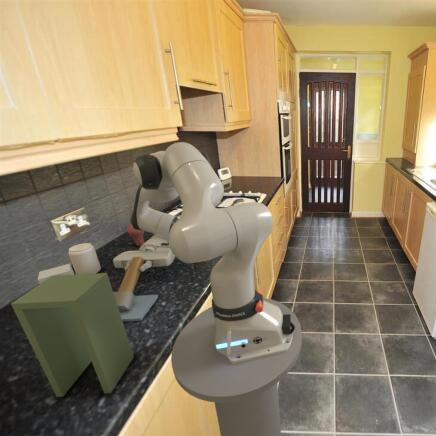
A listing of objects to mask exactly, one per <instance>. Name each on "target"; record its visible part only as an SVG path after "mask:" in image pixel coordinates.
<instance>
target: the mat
mask: <svg viewBox="0 0 436 436" xmlns="http://www.w3.org/2000/svg"><path fill="white" fill-rule="evenodd" d="M135 296H136V297H135V300H134V302H133V305H132V308H131V310H130V311H119V312H120V315H121V318H122V321H123V323H127V322H141V321H143V319H144V318H145V316H146V315H147V314H148V312H149V311H150V309H151V308H152V307H153V305H154V304H155V302H156V301H157V299H158V298H159V294H145V295H135Z"/></svg>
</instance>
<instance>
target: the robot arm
mask: <svg viewBox="0 0 436 436" xmlns="http://www.w3.org/2000/svg"><path fill="white" fill-rule="evenodd" d="M132 173H133V176H134V179H135V180H136V182H137V183H138V185H139V186H138V187H137V190H136V193H135V198H134V204H133V209H132V213H131V216H130V219H129V222H130V224H131V225H132V226H133V228H134V229H136V230H141V231H144V232H146V233H150V234H152V236H151V237H150V238H149V239H148V240H146V241H144V244H143V245H140V247H139V249H138V250H127V251H124V252H122V253H121V252H120V254H118V255H116V256H115V257H114V258H113V259H112V262H113V263H112V264H113V266H114V268H115V269H124V271H125V273H126V272H127V270H128V267H129V265H130V262H131V260H132V258H133V257H142V258H143V259H144V261H145V262H144V264H143V265H140V266H139V267H138V271H141V272H145V270H147V269H149V268H151V267H152V268H155V267H169V266H171V265H172V263H174V260H175V259H176V258H177V259H178V260H179V261H180V262H181V263H182V262H183V263H184V264H193V263H194V264H195V263H200V262H206V261H210V260H213V259H215V258H219V257H221V256H222V257H221V258H220V259H219V260H218V261H217V262H216V263H215V264H214V266H213V267H212V269H211V270H210V274H209V282H210V290H211V296H212V298H211V307H212V310H213V314H214V318H215V321H216V328H215V337H214V346H215V348H216V350H217V351H218V352H219V353H221V354H222V355H224V356H226V358H227V359H228V361H229V362H230V363H231V364H237V363H241V362H246V361H250V360H254V359H259V358H263V357H268V356H272V355H277V354H281V353H285V352H287V351H288V349H289V348H290V346H291V343H292V339H293V331H294V329H295V326H294V324H293V323H292V322H291V314H282V311H281V309H280V308H279V307H278V306H276V305H274V304H271V303H269V302H267V301H265V300H263V298H264V296H263V289H262V288H261V289H260V292H259V291H258V290H256V289H255V288H256V287H255V266H256V265H255V264H256V261H257V257H258V255H259V252H260V250H261V248H262V246H263V245H264V242H266V240H267V238H268V237H269V236H270V235H271V234H272V232H273V229H274V217H273V214H272V212H271V210H270V209H269V207H268V206H266V205H265V204H264V203H262V202H241V203H238V204H233V205H228V206H225V207H219V208H217V206H218V205H219V203H220V202H221V201H222V200H223V197H224V195H225V187H224V183H223V182H222V181H221V178H220V177H219V176H218V175H217V173H216V172H215V169H213V167H212V162H211V160H210V157H209V156H208V154H207V153H206V152H205V151H204V150H201V149H197V148H196V147H195V146H194V145H192V144H190V143H189V142H185V141H184V142H183V141H179V142H174V143H173V144H170V145H169V146H168V147H167V148H166V149H165V150H159V151H156V152H153V153H144V154H141V155H138V156H136V157H135V158H134V160H133V164H132ZM177 198H179V199H180V202H181V206H182V209H181V214H180V216H179V217H178V216H175V215H172V214H169V213H166V212H163V211H161V210H156V209H154V208H151V207H150V206H149V204H150V202H156V203H162V204H163V203H169V202H171V201H174V200H176V199H177Z"/></svg>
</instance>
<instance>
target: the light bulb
mask: <svg viewBox="0 0 436 436" xmlns="http://www.w3.org/2000/svg"><path fill="white" fill-rule="evenodd" d="M127 233H128V235H129V236H130V237H131V238H132V239H133V241H134V242H135V245H136V246H142V245H143V244H144V243H145V239H144V235H145V231H141V230H136V229H134V228H133V226H132V225H131V223H130V224H129V225H128V226H127Z"/></svg>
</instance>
